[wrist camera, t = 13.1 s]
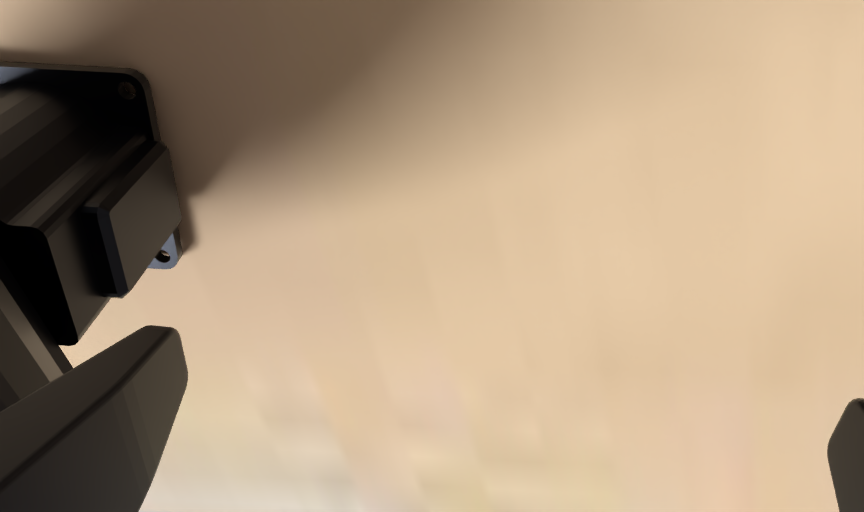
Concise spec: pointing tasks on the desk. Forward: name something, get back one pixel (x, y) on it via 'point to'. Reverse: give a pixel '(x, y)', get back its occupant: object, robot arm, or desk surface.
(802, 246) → the desk surface
